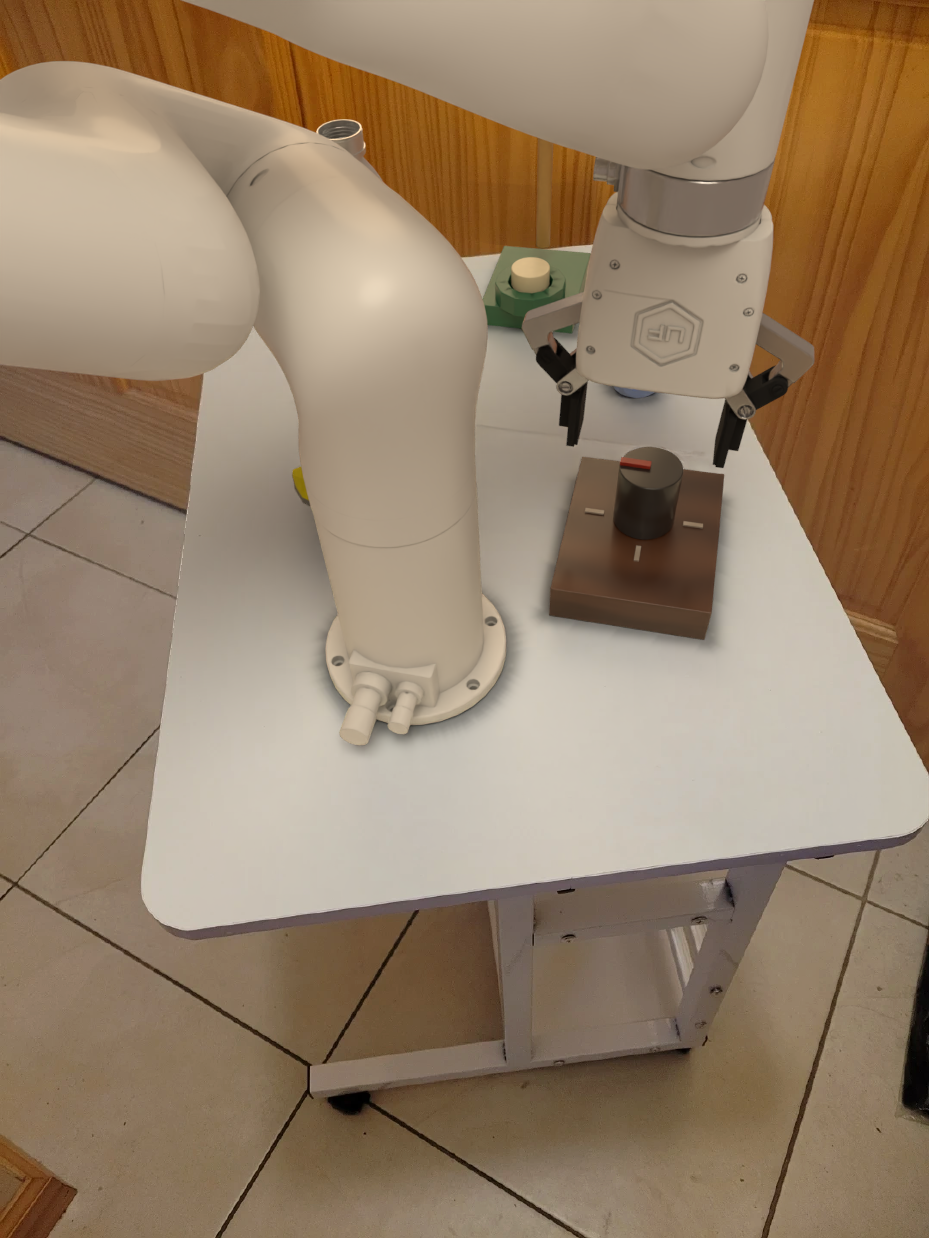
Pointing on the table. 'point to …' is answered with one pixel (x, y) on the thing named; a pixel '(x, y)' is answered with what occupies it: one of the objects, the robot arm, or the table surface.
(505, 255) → the lamp base
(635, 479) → the dimmer knob
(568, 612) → the dimmer panel
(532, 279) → the lamp switch
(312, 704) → the table surface
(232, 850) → the table surface
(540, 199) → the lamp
